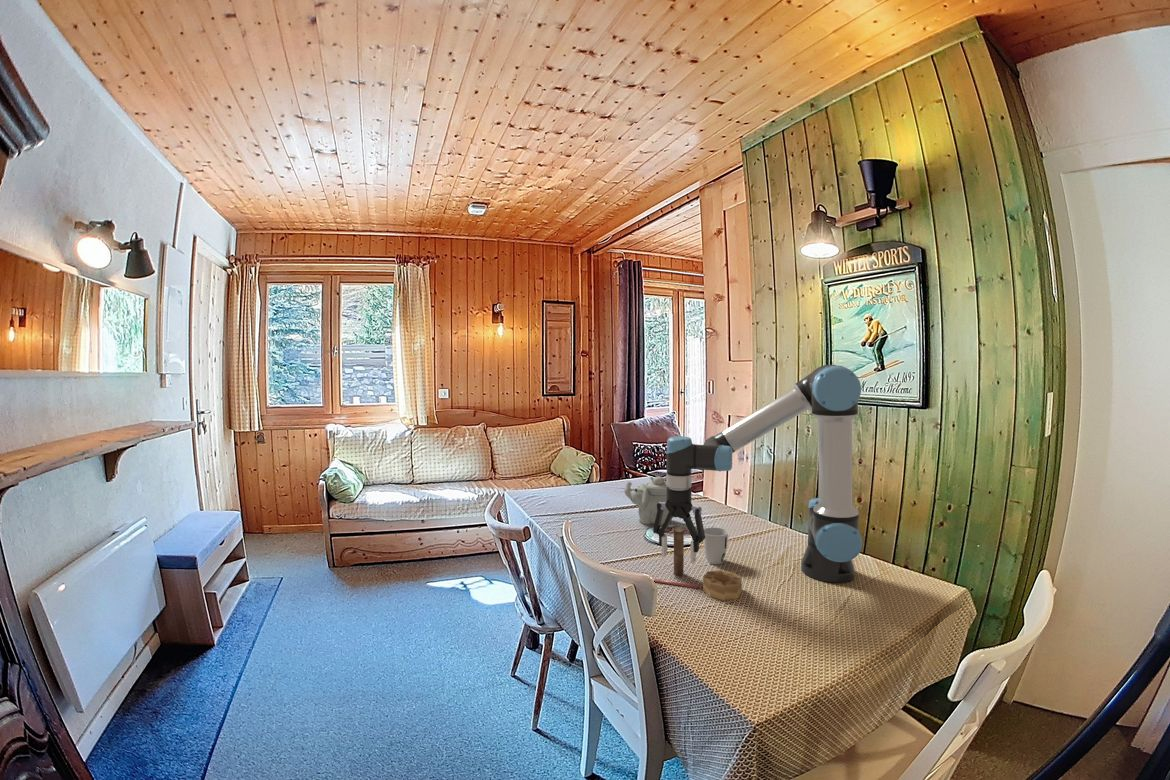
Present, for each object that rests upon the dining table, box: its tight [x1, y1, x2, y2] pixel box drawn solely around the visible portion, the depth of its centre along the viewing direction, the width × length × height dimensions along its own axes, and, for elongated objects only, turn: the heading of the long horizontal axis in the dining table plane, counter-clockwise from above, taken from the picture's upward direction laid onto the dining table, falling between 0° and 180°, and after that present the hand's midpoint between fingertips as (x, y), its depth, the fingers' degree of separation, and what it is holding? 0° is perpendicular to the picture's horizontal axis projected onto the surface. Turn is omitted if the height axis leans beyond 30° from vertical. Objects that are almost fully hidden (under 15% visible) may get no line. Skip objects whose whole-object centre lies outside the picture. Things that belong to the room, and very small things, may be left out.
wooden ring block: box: [702, 569, 743, 601], centre depth 153 cm, size 10×10×4 cm
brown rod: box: [673, 524, 685, 577], centre depth 164 cm, size 3×3×15 cm
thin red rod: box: [653, 578, 701, 589], centre depth 158 cm, size 14×1×1 cm, turn 70°
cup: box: [702, 527, 729, 565], centre depth 174 cm, size 8×8×10 cm
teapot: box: [623, 475, 669, 527], centre depth 214 cm, size 16×15×19 cm
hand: (678, 558), depth 165 cm, fingers open, 9 cm apart
